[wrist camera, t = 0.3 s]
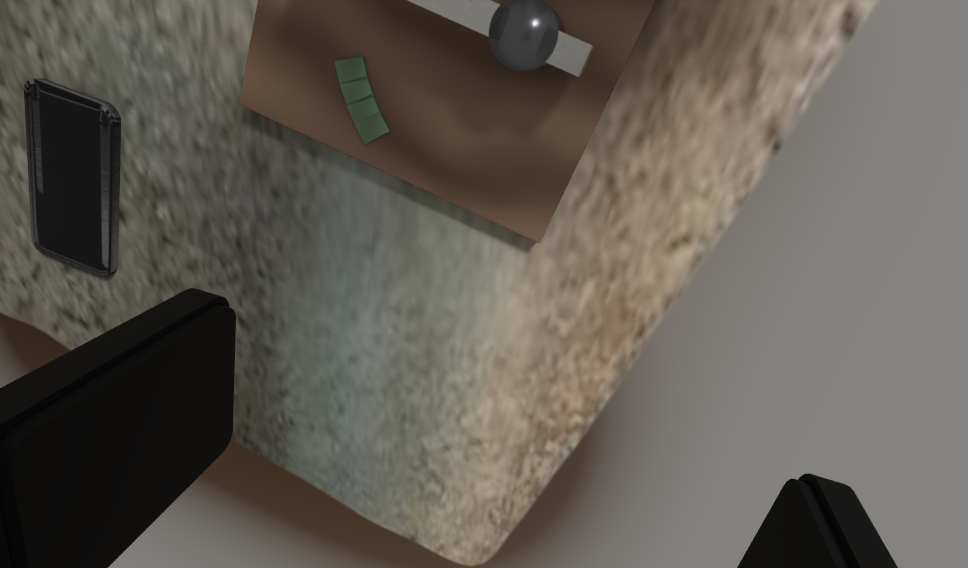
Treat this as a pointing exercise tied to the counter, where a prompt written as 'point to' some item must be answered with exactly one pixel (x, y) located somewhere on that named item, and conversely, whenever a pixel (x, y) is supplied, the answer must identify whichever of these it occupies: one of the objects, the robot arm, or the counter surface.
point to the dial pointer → (518, 32)
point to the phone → (73, 175)
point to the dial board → (439, 97)
